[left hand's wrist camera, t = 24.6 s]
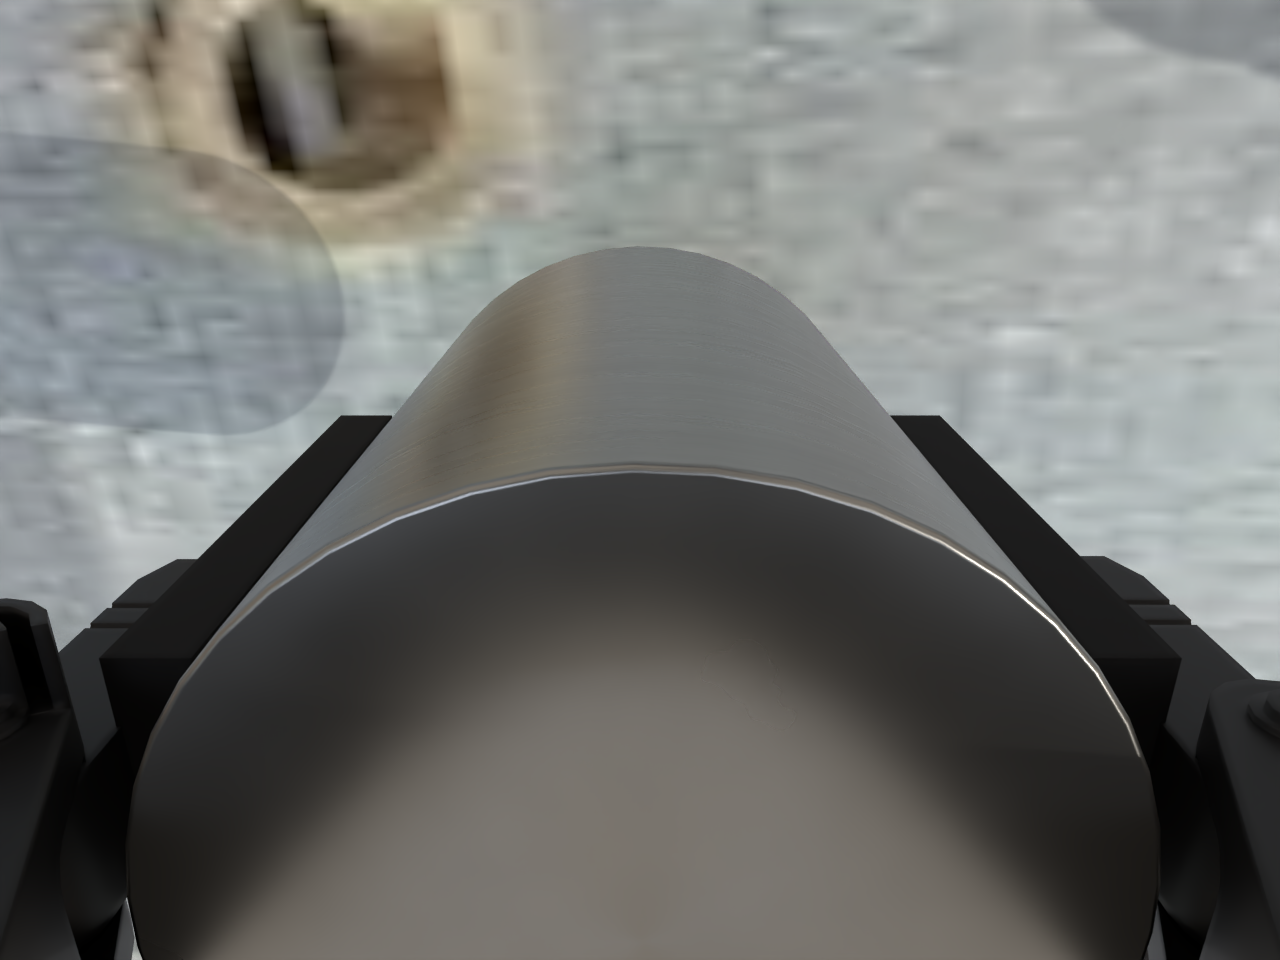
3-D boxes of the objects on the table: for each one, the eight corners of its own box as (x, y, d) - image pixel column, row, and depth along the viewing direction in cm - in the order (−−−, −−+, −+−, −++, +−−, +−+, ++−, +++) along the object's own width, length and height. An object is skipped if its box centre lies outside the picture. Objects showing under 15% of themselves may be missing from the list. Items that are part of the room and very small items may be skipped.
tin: (372, 284, 14) (-59, 555, 5) (846, 211, 14) (1206, 378, 5) (473, 681, 17) (295, 1290, 8) (873, 630, 16) (1137, 1212, 8)
